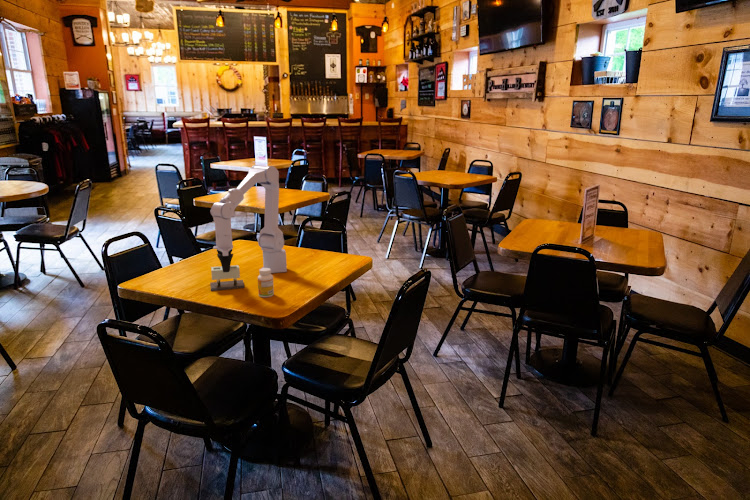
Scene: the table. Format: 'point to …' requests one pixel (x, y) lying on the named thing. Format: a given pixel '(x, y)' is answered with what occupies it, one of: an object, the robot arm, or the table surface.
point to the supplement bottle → (265, 283)
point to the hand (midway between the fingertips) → (226, 269)
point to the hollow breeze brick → (225, 273)
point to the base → (227, 285)
